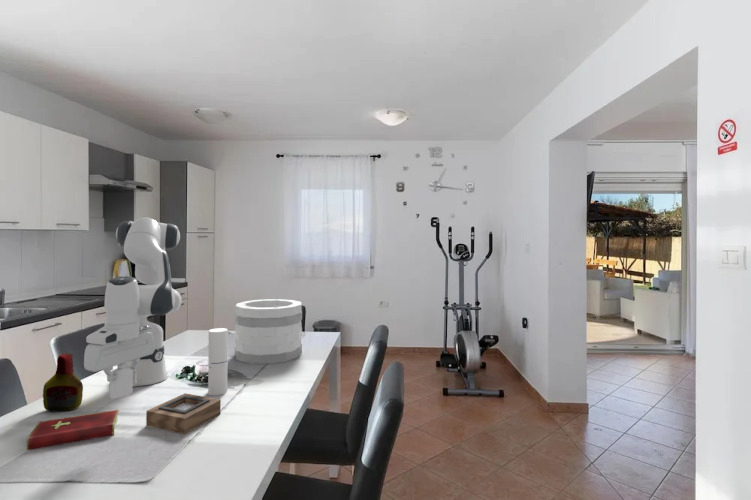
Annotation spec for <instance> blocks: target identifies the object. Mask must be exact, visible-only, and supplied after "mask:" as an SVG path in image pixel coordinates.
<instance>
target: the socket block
mask: <svg viewBox="0 0 751 500" xmlns="http://www.w3.org/2000/svg"><path fill="white" fill-rule="evenodd" d="M221 401H222V400H221V398H220V399H219V398H213V397H207V396H204V395H203V396H202V395H195V394H191V393H186V392H185V393H183V394H180V395H178V396H176V397H174V398H171V399H169V400H167V401H165V402H162V403H160V404H158V405H157V406H154V407H151V408H149V409H148V410H146V411H145V412H146V413H145V414H146V415H145V416H146V417H145V422H146V424H145V426H146V427H149V428H153V429H158V430H163V431H167V432H171V433H177V434H181V435H186V434H188V433H189V432H192V431H193V430H195V429H197V428H198V427H200V426H202V425H204V424H205V423H207V422H209V421H210V420H212V419H214V418H216V417H217V416H219V415H221ZM183 402H189V403H194V404H197V405H195V406H193V407H191V408H189V409H187V410H185V411H184V410H179V409H174V408H173V407H175V406H177V405H179V404H181V403H183Z"/></svg>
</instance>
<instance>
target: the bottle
mask: <svg viewBox="0 0 751 500" xmlns="http://www.w3.org/2000/svg"><path fill="white" fill-rule="evenodd" d="M73 359H74V354H72V353H69V352H64V353H61V354H59V355H58V357H57V360H56V370H55V374H53V376H52V377H50V378H49V379H48V380H47V381H46V382H45V383H44V385H43V389H42V402H43V403H42V404H43V408H44V409H45V410H46V411H48V412H65V411H72V410H76V409H78V408H79V407H80V406H81V405H82V401H83V393H84V392H83V391H84V385H83V383H82V380H81V379H80V378H79V377H77V376H76V375H75V373H74V360H73Z"/></svg>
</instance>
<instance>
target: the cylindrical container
mask: <svg viewBox="0 0 751 500" xmlns="http://www.w3.org/2000/svg"><path fill="white" fill-rule="evenodd" d="M228 331H229V330H228V328H223V327H217V328H211V329H209V330H208V357H207V358H208V360H207V362H208V365H207V366H208V370H207V371H208V373H207V374H208V377H207V378H208V379H207V381H208V382H207V383H208V384H207V385H208V389H207V390H208V391H207V394H208V395H209V396H210V395H211V396H220V395H224V394H226V393H227V392H228V361H229V359H228V358H229V357H228V356H229V355H228V349H229V348H228V347H229V346H228V344H229V341H228V339H229V338H228V337H229V336H228Z"/></svg>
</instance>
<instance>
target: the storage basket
mask: <svg viewBox="0 0 751 500" xmlns="http://www.w3.org/2000/svg"><path fill="white" fill-rule="evenodd" d="M302 305H303V304H302V302H301V301H299V300H294V299H279V298H276V299H275V298H274V299H273V298H271V299H270V298H269V299H266V298H264V299H254V300H252V299H251V300H246V301H241V302H238V303H236V304H235V312H234V322H235V324H234V325H235V326H234V328H235V329H234V330H235V331H234V340H235V341H234V342H235V344H234V345H235V347H234V357H235V358H236V360H237V361H238V362H243V363H247V364H253V365H255V364H257V365H258V364H260V365H271V364H278V363H284V362H285V363H286V362H289V361H291V360H295V359H296V358H299V357H300V356H301V354H302V353H303V344H302V336H303V327H302V321H303V310H302V307H303V306H302Z"/></svg>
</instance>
